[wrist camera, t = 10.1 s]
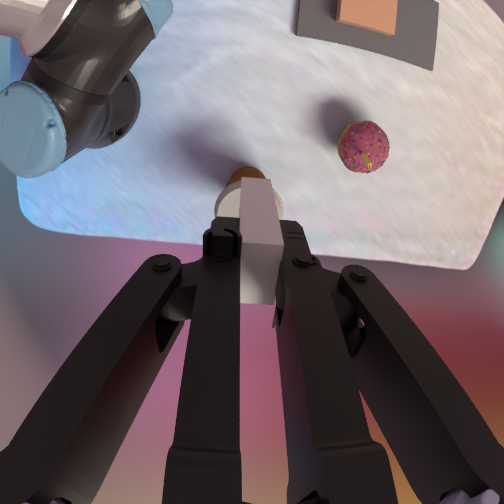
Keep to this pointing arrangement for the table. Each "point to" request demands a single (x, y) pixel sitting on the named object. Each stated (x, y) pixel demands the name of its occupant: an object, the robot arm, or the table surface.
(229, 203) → the disposable coffee cup
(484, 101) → the table surface
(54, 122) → the robot arm
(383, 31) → the tile
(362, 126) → the cupcake
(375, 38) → the mat
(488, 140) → the table surface
